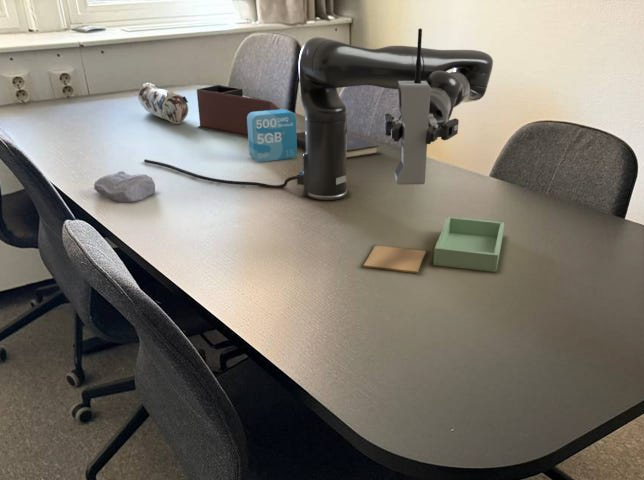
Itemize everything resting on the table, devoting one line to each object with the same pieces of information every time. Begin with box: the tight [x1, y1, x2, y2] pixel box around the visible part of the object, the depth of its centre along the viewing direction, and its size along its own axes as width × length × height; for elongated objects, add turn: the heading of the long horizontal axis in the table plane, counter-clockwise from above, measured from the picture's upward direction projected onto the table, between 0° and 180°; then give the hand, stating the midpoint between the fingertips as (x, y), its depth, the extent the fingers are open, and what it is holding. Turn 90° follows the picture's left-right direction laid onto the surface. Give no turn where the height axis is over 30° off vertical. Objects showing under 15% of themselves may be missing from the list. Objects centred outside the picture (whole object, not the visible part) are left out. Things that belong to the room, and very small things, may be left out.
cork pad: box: [363, 244, 427, 274], centre depth 132 cm, size 10×10×1 cm
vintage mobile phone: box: [394, 27, 430, 186], centre depth 120 cm, size 4×5×25 cm
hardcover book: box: [296, 131, 380, 160], centre depth 199 cm, size 16×23×2 cm
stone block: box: [93, 171, 156, 203], centre depth 160 cm, size 12×5×10 cm
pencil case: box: [137, 82, 189, 125], centre depth 224 cm, size 22×8×10 cm, turn 38°
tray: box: [432, 216, 505, 273], centre depth 136 cm, size 12×18×3 cm, turn 167°
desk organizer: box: [196, 84, 281, 138], centre depth 210 cm, size 10×29×11 cm, turn 58°
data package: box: [247, 108, 298, 163], centre depth 186 cm, size 12×4×12 cm, turn 118°
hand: (411, 136), depth 120 cm, fingers closed on vintage mobile phone, 5 cm apart
